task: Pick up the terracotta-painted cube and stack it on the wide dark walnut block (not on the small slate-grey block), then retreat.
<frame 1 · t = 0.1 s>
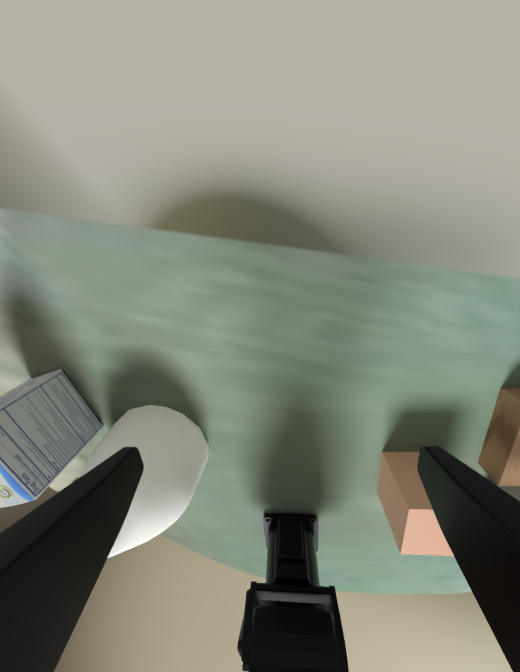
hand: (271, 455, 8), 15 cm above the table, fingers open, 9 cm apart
terracotta block: (408, 472, 27), on the table
medicine box: (70, 401, 27), on the table
teardrop: (162, 443, 28), on the table
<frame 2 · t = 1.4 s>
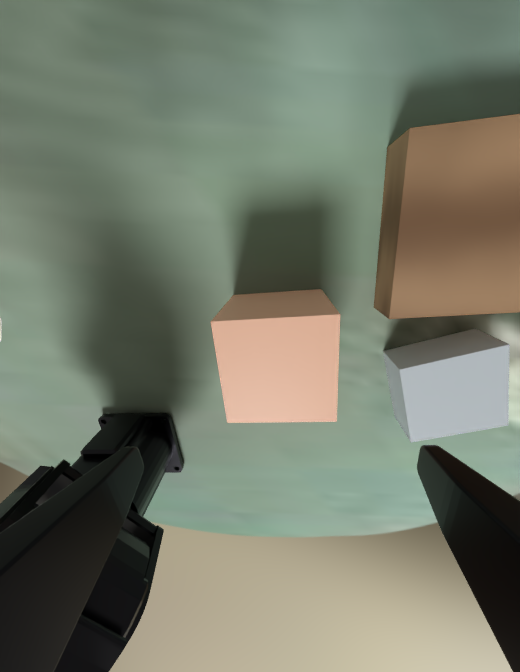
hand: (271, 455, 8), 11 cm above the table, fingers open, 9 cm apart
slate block: (429, 374, 19), on the table
terracotta block: (279, 332, 18), on the table
walnut block: (454, 229, 15), on the table
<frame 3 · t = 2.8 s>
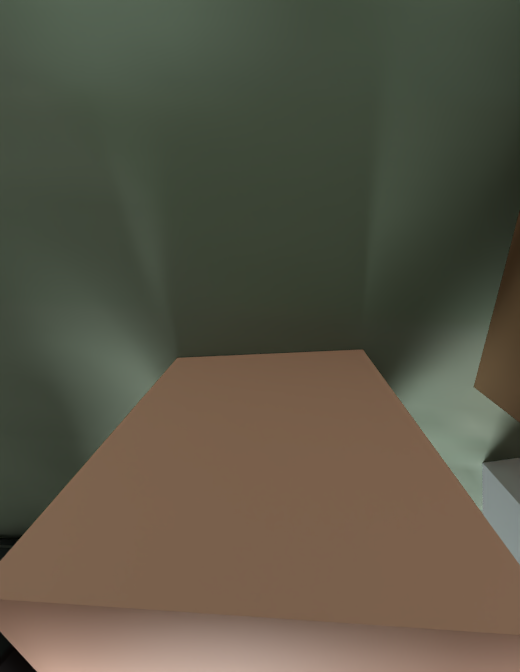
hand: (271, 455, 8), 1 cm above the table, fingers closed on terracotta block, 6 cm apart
terracotta block: (272, 427, 9), on the table, touching gripper
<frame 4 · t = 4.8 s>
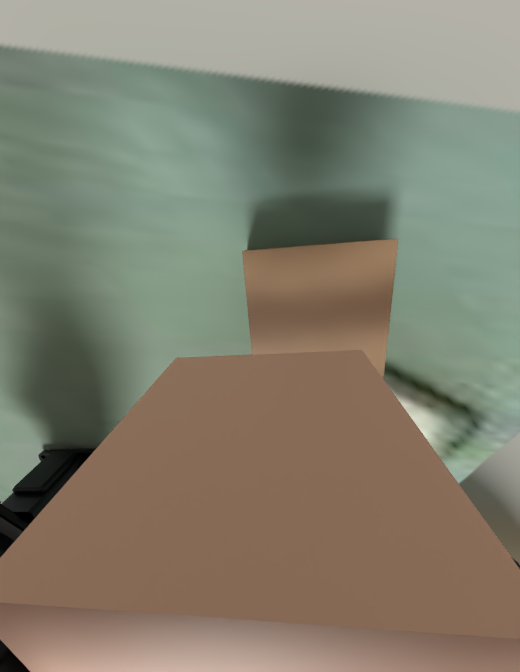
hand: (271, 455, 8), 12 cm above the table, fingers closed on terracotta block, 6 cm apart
terracotta block: (271, 428, 9), point 11 cm above the table, touching gripper
walnut block: (311, 307, 19), on the table
when the fingers open (5 cm above the table, at t = 6.7 s): terracotta block drops 2 cm, resting on walnut block.
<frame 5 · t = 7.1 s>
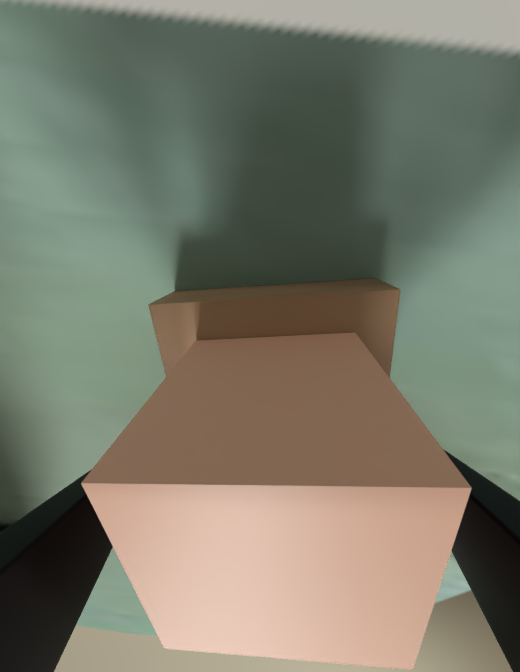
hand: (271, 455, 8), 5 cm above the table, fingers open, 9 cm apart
terracotta block: (277, 402, 10), point 2 cm above the table, touching walnut block
walnut block: (276, 367, 13), on the table, touching terracotta block
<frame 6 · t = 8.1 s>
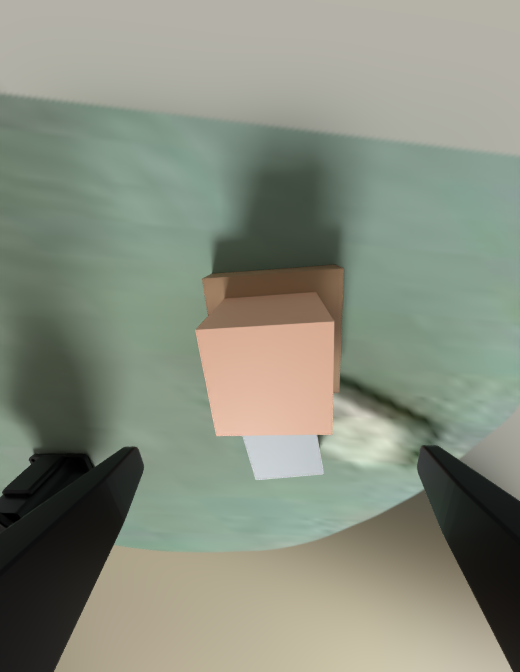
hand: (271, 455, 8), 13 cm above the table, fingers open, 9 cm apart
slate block: (282, 426, 24), on the table
terracotta block: (272, 337, 17), point 3 cm above the table
walnut block: (275, 325, 20), on the table
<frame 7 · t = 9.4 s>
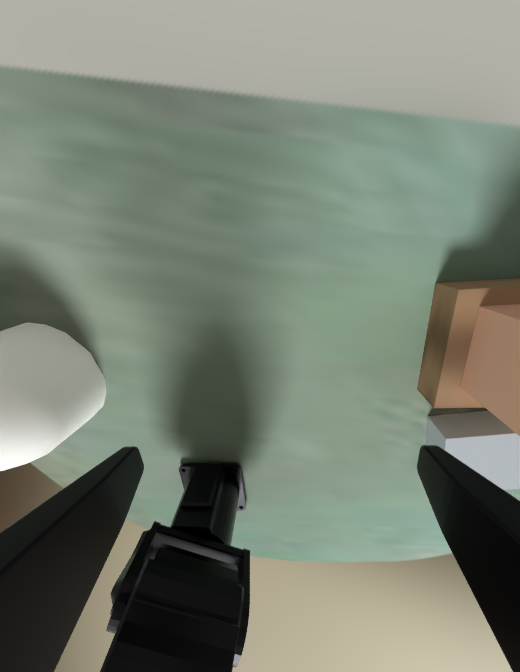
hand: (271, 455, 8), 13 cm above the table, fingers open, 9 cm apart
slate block: (459, 437, 23), on the table
terracotta block: (517, 347, 17), point 2 cm above the table, touching walnut block
walnut block: (483, 335, 20), on the table, touching terracotta block
teardrop: (52, 375, 24), on the table
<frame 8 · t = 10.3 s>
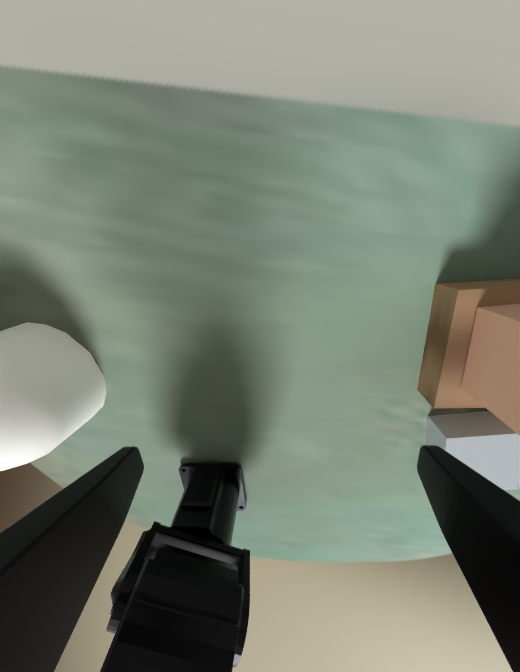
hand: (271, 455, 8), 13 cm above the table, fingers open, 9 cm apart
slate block: (459, 437, 23), on the table
terracotta block: (517, 346, 17), point 2 cm above the table
walnut block: (483, 336, 20), on the table
teardrop: (52, 375, 24), on the table
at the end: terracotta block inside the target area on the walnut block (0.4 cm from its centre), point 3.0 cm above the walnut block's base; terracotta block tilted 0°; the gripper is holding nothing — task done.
